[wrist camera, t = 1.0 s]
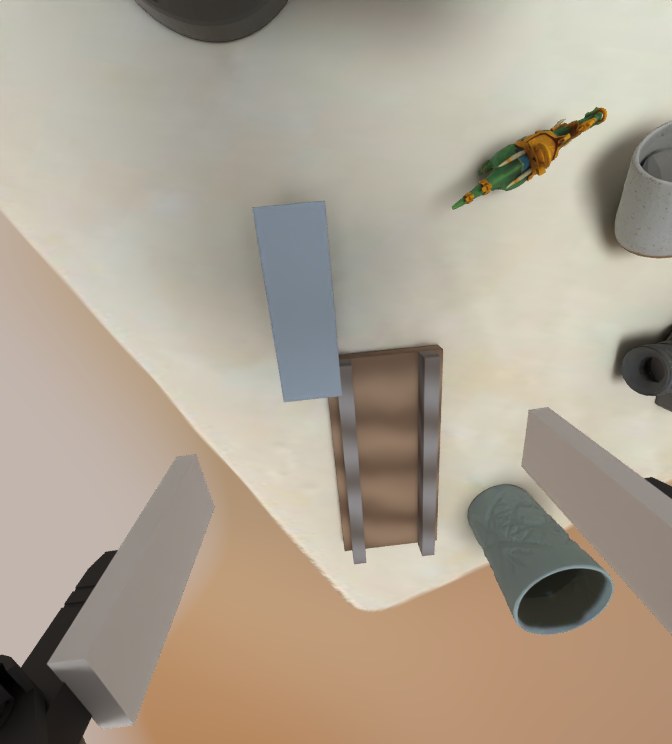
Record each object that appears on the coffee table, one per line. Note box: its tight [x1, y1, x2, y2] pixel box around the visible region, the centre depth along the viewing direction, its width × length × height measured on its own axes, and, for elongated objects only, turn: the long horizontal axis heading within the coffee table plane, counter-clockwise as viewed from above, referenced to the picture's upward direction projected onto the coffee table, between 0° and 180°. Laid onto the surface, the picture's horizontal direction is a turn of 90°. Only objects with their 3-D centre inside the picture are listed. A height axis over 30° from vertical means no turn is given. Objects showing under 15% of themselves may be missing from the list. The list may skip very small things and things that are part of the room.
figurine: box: [452, 107, 607, 210], centre depth 25 cm, size 3×12×8 cm, turn 122°
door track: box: [328, 345, 443, 564], centre depth 37 cm, size 26×12×4 cm, turn 5°
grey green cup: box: [468, 485, 614, 635], centre depth 38 cm, size 10×10×12 cm
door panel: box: [252, 201, 342, 402], centre depth 26 cm, size 12×4×12 cm, turn 5°
